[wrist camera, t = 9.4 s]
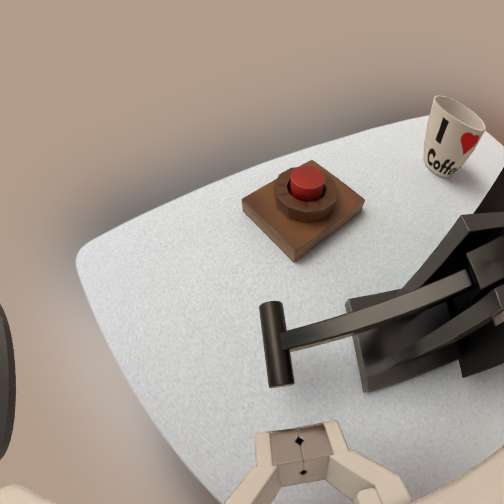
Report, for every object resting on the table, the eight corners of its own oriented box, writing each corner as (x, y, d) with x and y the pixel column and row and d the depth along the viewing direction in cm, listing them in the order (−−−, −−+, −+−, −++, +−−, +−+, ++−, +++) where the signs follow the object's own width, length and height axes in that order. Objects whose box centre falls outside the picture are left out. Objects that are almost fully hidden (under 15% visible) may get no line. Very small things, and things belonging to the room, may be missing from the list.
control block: (293, 262, 25) (296, 241, 22) (242, 211, 29) (239, 187, 26) (361, 211, 28) (369, 189, 25) (310, 171, 32) (313, 148, 29)
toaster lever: (278, 387, 15) (260, 388, 13) (268, 313, 18) (250, 303, 16) (513, 307, 10) (528, 294, 8) (483, 234, 12) (491, 213, 11)
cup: (412, 168, 32) (434, 108, 23) (416, 141, 35) (433, 89, 27) (460, 193, 29) (490, 139, 21) (458, 163, 33) (481, 114, 24)
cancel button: (306, 207, 25) (307, 194, 23) (283, 187, 26) (283, 174, 25) (329, 192, 26) (332, 179, 24) (306, 174, 27) (307, 161, 26)
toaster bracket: (363, 392, 19) (471, 361, 7) (344, 304, 23) (406, 193, 11) (455, 360, 19) (564, 300, 7) (433, 285, 23) (513, 191, 11)
